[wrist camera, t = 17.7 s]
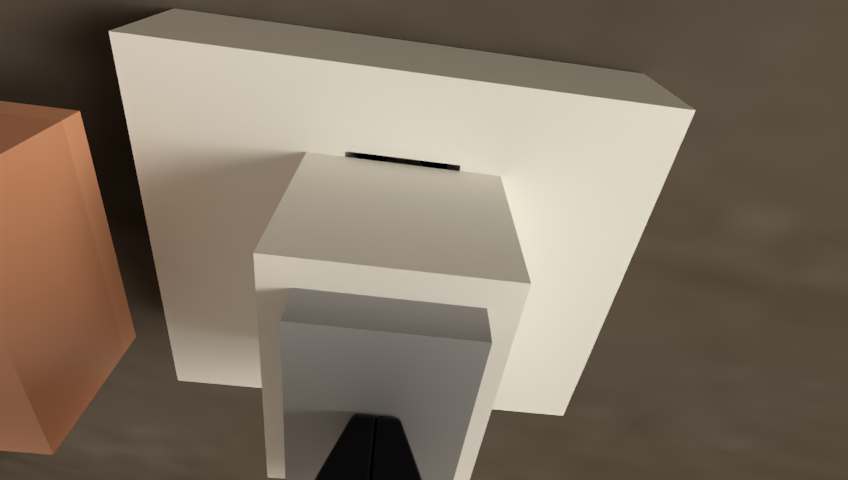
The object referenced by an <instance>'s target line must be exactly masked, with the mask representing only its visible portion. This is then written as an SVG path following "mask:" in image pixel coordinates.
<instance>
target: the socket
mask: <svg viewBox="0 0 848 480" xmlns="http://www.w3.org/2000/svg"><path fill="white" fill-rule="evenodd" d="M108 32H109V37H110V42H111V47H112V52H113V57H114V62H115V67H116V72H117V77H118V82H119V87H120V92H121V97H122V102H123V107H124V112H125V117H126V122H127V127H128V132H129V137H130V142H131V147H132V152H133V157H134V162H135V167H136V172H137V177H138V182H139V187H140V192H141V197H142V202H143V207H144V212H145V217H146V222H147V227H148V232H149V237H150V242H151V247H152V253H153V258H154V263H155V268H156V273H157V278H158V283H159V288H160V293H161V298H162V303H163V308H164V313H165V318H166V323H167V328H168V333H169V338H170V343H171V348H172V353H173V358H174V363H175V368H176V373H177V378H178V380H180V381H191V382H202V383H213V384H224V385H235V386H245V387H256V388H262V382H261V367H260V351H259V336H258V320H257V305H256V289H255V273H254V258H253V252H254V251H255V249H256V247H257V245H258V243H259V241H260V239H261V237H262V235H263V233H264V232H265V230H266V228H267V226H268V224H269V222H270V220H271V218H272V216H273V214H274V213H275V211H276V209H277V207H278V205H279V203H280V201H281V199H282V197H283V195H284V194H285V192H286V190H287V188H288V186H289V184H290V182H291V180H292V178H293V176H294V175H295V173H296V171H297V169H298V167H299V165H300V163H301V161H302V159H303V157H304V156H305V154H306V152H311V153H319V154H327V155H335V156H343V157H351V158H357V155H358V153H363V154H371V155H379V156H388V157H396V158H404V159H412V160H420V161H428V162H436V163H444V164H447V168H446V169H447V170H455V171H463V172H471V173H479V174H487V175H495V176H501V179H502V183H503V186H504V190H505V193H506V197H507V200H508V204H509V208H510V211H511V215H512V218H513V222H514V225H515V229H516V232H517V236H518V239H519V243H520V246H521V250H522V253H523V257H524V260H525V264H526V267H527V271H528V274H529V278H530V281H531V286H530V289H529V293H528V296H527V299H526V302H525V305H524V309H523V312H522V315H521V318H520V321H519V324H518V328H517V331H516V334H515V337H514V340H513V344H512V347H511V350H510V353H509V356H508V359H507V363H506V366H505V369H504V372H503V375H502V379H501V382H500V385H499V388H498V391H497V394H496V398H495V401H494V404H493V407H492V409H495V410H506V411H517V412H528V413H538V414H549V415H560V416H563V415H564V412H565V410H566V408H567V406H568V403H569V401H570V399H571V396H572V394H573V392H574V389H575V387H576V385H577V383H578V380H579V378H580V376H581V373H582V371H583V369H584V366H585V364H586V362H587V359H588V357H589V355H590V353H591V350H592V348H593V346H594V343H595V341H596V339H597V336H598V334H599V332H600V330H601V327H602V325H603V323H604V320H605V318H606V316H607V313H608V311H609V309H610V306H611V304H612V302H613V300H614V297H615V295H616V293H617V290H618V288H619V286H620V283H621V281H622V279H623V277H624V274H625V272H626V270H627V267H628V265H629V263H630V260H631V258H632V256H633V253H634V251H635V249H636V247H637V244H638V242H639V240H640V237H641V235H642V233H643V230H644V228H645V226H646V224H647V221H648V219H649V217H650V214H651V212H652V210H653V207H654V205H655V203H656V200H657V198H658V196H659V194H660V191H661V189H662V187H663V184H664V182H665V180H666V177H667V175H668V173H669V171H670V168H671V166H672V164H673V161H674V159H675V157H676V154H677V152H678V150H679V147H680V145H681V143H682V141H683V138H684V136H685V134H686V131H687V129H688V127H689V124H690V122H691V120H692V118H693V115H694V113H695V111H696V110H694V109H693V108H691V107H690V106H689V105H687V104H686V103H684V102H683V101H682V100H680V99H679V98H677V97H676V96H675V95H673V94H672V93H670V92H669V91H667V90H666V89H665V88H663V87H662V86H660V85H659V84H658V83H656V82H655V81H653V80H652V79H651V78H649V77H648V76H646V75H645V74H643V73H635V72H628V71H621V70H614V69H607V68H599V67H592V66H585V65H578V64H571V63H564V62H556V61H549V60H542V59H535V58H528V57H520V56H513V55H506V54H499V53H492V52H485V51H477V50H470V49H463V48H456V47H449V46H441V45H434V44H427V43H420V42H413V41H406V40H398V39H391V38H384V37H377V36H370V35H362V34H355V33H348V32H341V31H334V30H327V29H319V28H312V27H305V26H298V25H291V24H283V23H276V22H269V21H262V20H255V19H248V18H240V17H233V16H226V15H219V14H212V13H204V12H197V11H190V10H183V9H176V8H174V9H171V10H168V11H165V12H162V13H159V14H156V15H153V16H150V17H148V18H145V19H142V20H139V21H136V22H133V23H130V24H127V25H124V26H121V27H119V28H116V29H113V30H110V31H108Z"/></svg>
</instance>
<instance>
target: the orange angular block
mask: <svg viewBox="0 0 848 480" xmlns="http://www.w3.org/2000/svg"><path fill="white" fill-rule="evenodd" d="M135 338H136V334H135V330H134V326H133V322H132V318H131V314H130V310H129V306H128V302H127V298H126V294H125V290H124V286H123V282H122V278H121V274H120V270H119V266H118V262H117V258H116V254H115V250H114V246H113V242H112V238H111V234H110V230H109V226H108V222H107V218H106V214H105V210H104V206H103V202H102V198H101V194H100V189H99V185H98V181H97V177H96V173H95V169H94V165H93V161H92V157H91V153H90V149H89V145H88V141H87V137H86V133H85V129H84V125H83V121H82V117H81V113H80V111H78V110H70V109H62V108H54V107H46V106H38V105H30V104H22V103H14V102H6V101H0V450H2V451H14V452H26V453H38V454H51V455H53V454H54V453H55V452H56V450H57V449H58V447H59V446H60V444H61V443H62V442H63V440H64V439H65V437H66V436H67V434H68V433H69V432H70V430H71V429H72V427H73V426H74V424H75V423H76V422H77V420H78V419H79V417H80V416H81V414H82V413H83V412H84V410H85V409H86V407H87V406H88V404H89V403H90V402H91V400H92V399H93V397H94V396H95V395H96V393H97V392H98V390H99V389H100V387H101V386H102V385H103V383H104V382H105V380H106V379H107V377H108V376H109V375H110V373H111V372H112V370H113V369H114V367H115V366H116V365H117V363H118V362H119V360H120V359H121V357H122V356H123V355H124V353H125V352H126V350H127V349H128V347H129V346H130V345H131V343H132V342H133V340H134V339H135Z"/></svg>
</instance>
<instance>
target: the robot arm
mask: <svg viewBox="0 0 848 480" xmlns="http://www.w3.org/2000/svg"><path fill="white" fill-rule="evenodd" d="M375 424H376V425H375ZM314 480H422V478H421V475H420V472H419V469H418V467H417V464H416V461H415V458H414V456H413V453H412V450H411V447H410V444H409V442H408V439H407V436H406V433H405V431H404V428H403V425H402V422H401V421H400V419H399V418H397V417H387V416H379V417H378V418H377V419H376V418H375V417H374V416H372V415H363V414H354V415H353V416H352V417H351V418H350V420H349V421H348V423H347V425H346V426H345V428H344V430H343V431H342V433H341V435H340V437H339V438H338V440H337V442H336V443H335V445H334V447H333V448H332V450H331V452H330V453H329V455H328V457H327V459H326V460H325V462H324V464H323V465H322V467H321V469H320V470H319V472H318V474H317V476H316V477H315V479H314Z"/></svg>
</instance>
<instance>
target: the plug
mask: <svg viewBox="0 0 848 480" xmlns="http://www.w3.org/2000/svg"><path fill="white" fill-rule="evenodd" d="M253 258H254V273H255V289H256V305H257V320H258V336H259V351H260V367H261V382H262V398H263V413H264V429H265V444H266V460H267V475H268V477H270V478H283V479H285V480H314V479H315V477H316V476H317V474H318V472H319V470H320V469H321V467H322V465H323V464H324V462H325V460H326V459H327V457H328V455H329V453H330V452H331V450H332V448H333V447H334V445H335V443H336V442H337V440H338V438H339V437H340V435H341V433H342V431H343V430H344V428H345V426H346V425H347V423H348V421H349V420H350V418H351V417H352V416H353V415H354V414H363V415H372V416H374V417H375V418H376V419H377V418H378V417H379V416H387V417H397V418H399V419H400V421H401V422H402V425H403V428H404V431H405V433H406V436H407V439H408V442H409V444H410V447H411V450H412V453H413V456H414V458H415V461H416V464H417V467H418V469H419V472H420V475H421V478H422V480H470V477H471V474H472V471H473V468H474V464H475V461H476V458H477V455H478V452H479V449H480V445H481V442H482V439H483V436H484V433H485V429H486V426H487V423H488V420H489V417H490V414H491V410H492V407H493V404H494V401H495V398H496V394H497V391H498V388H499V385H500V382H501V379H502V375H503V372H504V369H505V366H506V363H507V359H508V356H509V353H510V350H511V347H512V344H513V340H514V337H515V334H516V331H517V328H518V324H519V321H520V318H521V315H522V312H523V309H524V305H525V302H526V299H527V296H528V293H529V289H530V286H531V281H530V278H529V274H528V271H527V267H526V264H525V260H524V257H523V253H522V250H521V246H520V243H519V239H518V236H517V232H516V229H515V225H514V222H513V218H512V215H511V211H510V208H509V204H508V200H507V197H506V193H505V190H504V186H503V183H502V179H501V176H495V175H487V174H479V173H471V172H463V171H455V170H447V169H439V168H431V167H423V165H422V164H421V162H420V161H419V160H412V159H404V158H396V157H389V158H388V159H387V160H386V161H385V162H383V161H375V160H367V159H359V158H351V157H343V156H335V155H327V154H319V153H311V152H306V154H305V156H304V157H303V159H302V161H301V163H300V165H299V167H298V169H297V171H296V173H295V175H294V176H293V178H292V180H291V182H290V184H289V186H288V188H287V190H286V192H285V194H284V195H283V197H282V199H281V201H280V203H279V205H278V207H277V209H276V211H275V213H274V214H273V216H272V218H271V220H270V222H269V224H268V226H267V228H266V230H265V232H264V233H263V235H262V237H261V239H260V241H259V243H258V245H257V247H256V249H255V251H254V252H253ZM375 425H376V424H375Z"/></svg>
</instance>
